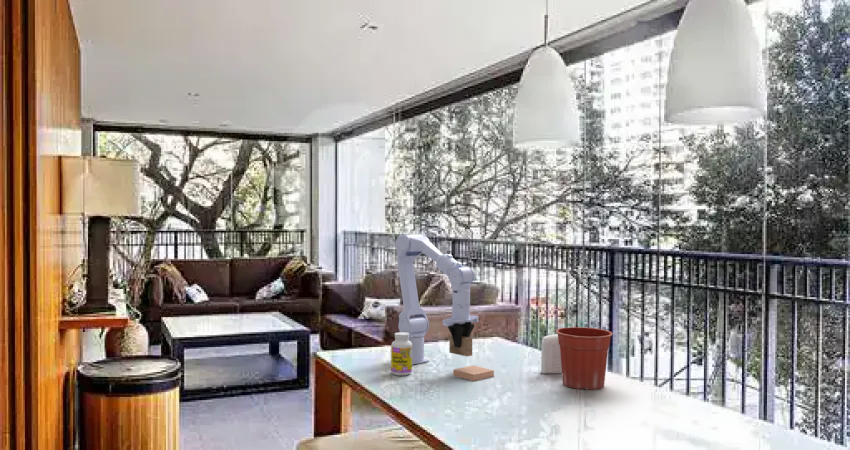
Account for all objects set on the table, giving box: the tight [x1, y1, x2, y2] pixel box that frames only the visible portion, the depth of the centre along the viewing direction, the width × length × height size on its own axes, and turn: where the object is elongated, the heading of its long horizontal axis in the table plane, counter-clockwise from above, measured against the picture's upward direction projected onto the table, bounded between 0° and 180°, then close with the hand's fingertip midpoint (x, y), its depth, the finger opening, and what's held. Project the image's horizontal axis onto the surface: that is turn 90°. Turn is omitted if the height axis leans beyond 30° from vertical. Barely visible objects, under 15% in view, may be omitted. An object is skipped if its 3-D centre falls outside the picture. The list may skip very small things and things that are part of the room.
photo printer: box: [540, 333, 562, 374], centre depth 212 cm, size 10×4×12 cm, turn 98°
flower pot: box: [555, 326, 613, 391], centre depth 196 cm, size 16×16×16 cm
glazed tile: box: [452, 364, 495, 382], centre depth 207 cm, size 2×9×9 cm
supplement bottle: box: [390, 331, 413, 377], centre depth 209 cm, size 7×7×13 cm
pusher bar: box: [448, 334, 473, 357], centre depth 211 cm, size 8×2×6 cm, turn 42°
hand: (460, 346), depth 211 cm, fingers closed on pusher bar, 2 cm apart
